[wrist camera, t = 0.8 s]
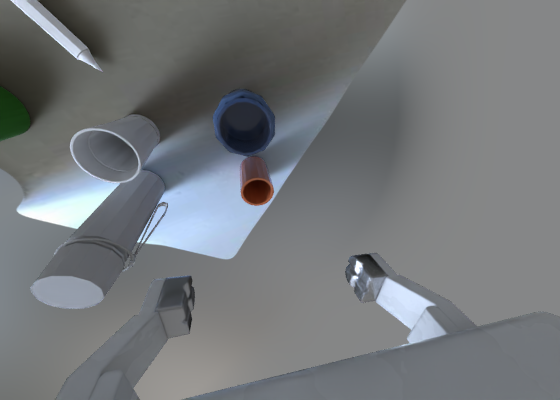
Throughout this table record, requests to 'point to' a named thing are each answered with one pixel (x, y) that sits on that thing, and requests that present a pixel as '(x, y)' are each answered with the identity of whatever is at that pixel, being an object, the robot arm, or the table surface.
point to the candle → (12, 116)
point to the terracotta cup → (255, 181)
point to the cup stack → (244, 125)
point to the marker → (56, 30)
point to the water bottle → (101, 246)
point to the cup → (115, 148)
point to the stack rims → (236, 95)
